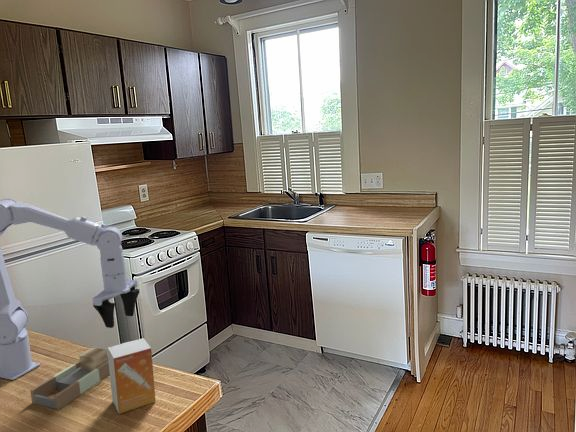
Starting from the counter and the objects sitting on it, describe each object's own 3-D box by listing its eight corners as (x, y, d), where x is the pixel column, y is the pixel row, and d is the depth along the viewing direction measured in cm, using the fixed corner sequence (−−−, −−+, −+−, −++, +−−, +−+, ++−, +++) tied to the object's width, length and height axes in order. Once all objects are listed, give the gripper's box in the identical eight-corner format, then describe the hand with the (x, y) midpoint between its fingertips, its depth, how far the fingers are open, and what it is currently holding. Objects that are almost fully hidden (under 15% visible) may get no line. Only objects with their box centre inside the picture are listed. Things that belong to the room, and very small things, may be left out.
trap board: (32, 403, 99) (30, 390, 98) (97, 361, 117) (95, 350, 116) (58, 409, 96) (57, 396, 95) (121, 366, 114) (120, 354, 113)
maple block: (80, 368, 109) (79, 355, 109) (94, 360, 113) (92, 347, 113) (94, 371, 108) (93, 358, 107) (108, 362, 112) (106, 349, 111)
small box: (118, 415, 93) (112, 358, 91) (112, 401, 98) (106, 347, 96) (156, 402, 97) (151, 347, 95) (148, 389, 103) (143, 337, 100)
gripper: (105, 282, 108) (112, 334, 110) (144, 265, 121) (149, 312, 124) (83, 280, 110) (90, 331, 113) (123, 264, 124) (129, 309, 126)
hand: (120, 321), depth 118 cm, fingers open, 7 cm apart
